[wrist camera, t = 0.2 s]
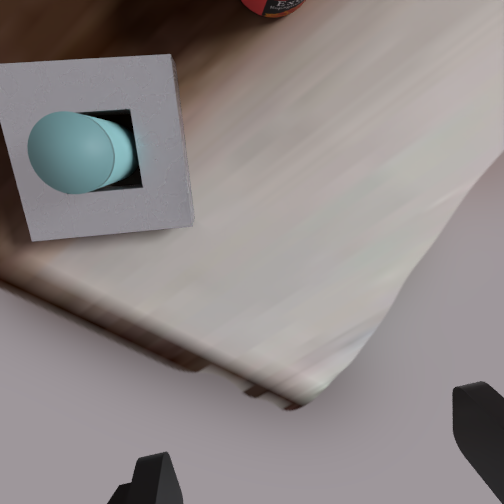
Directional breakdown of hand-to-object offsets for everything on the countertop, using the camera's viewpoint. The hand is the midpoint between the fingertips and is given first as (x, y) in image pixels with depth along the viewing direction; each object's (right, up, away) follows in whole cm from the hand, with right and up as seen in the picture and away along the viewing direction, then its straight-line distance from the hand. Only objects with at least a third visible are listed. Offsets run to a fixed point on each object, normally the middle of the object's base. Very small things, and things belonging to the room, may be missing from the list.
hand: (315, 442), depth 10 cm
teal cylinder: (-15, +15, +24) cm, 32 cm away
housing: (-15, +15, +24) cm, 32 cm away
